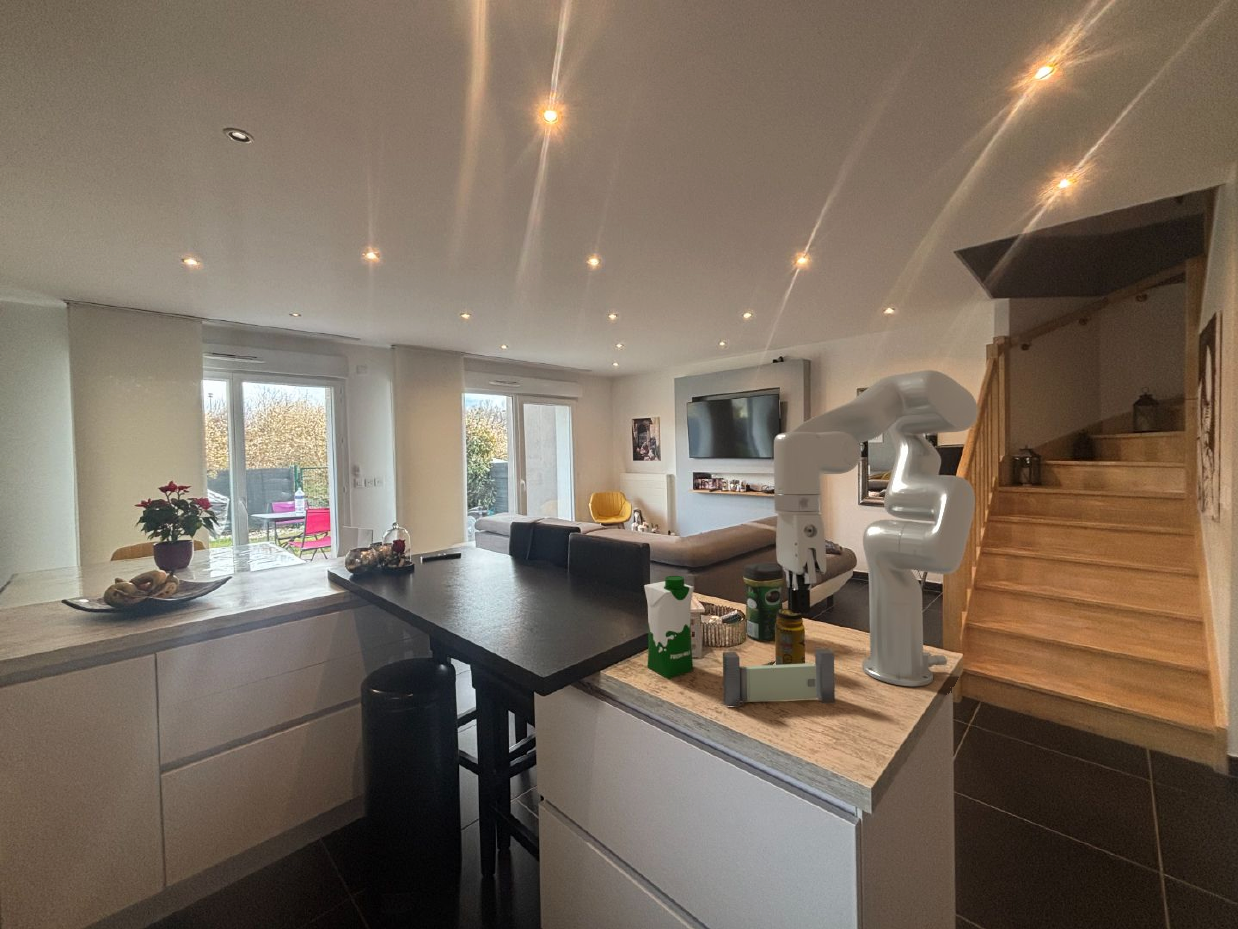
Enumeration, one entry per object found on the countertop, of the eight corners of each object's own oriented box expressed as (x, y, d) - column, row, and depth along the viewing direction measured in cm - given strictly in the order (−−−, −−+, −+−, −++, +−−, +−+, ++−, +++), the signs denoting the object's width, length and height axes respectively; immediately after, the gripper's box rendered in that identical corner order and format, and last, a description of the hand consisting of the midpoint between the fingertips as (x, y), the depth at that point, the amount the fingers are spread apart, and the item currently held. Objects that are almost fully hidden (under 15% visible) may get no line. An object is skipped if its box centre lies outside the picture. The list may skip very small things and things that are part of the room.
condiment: (814, 669, 103) (813, 612, 103) (788, 679, 98) (787, 620, 98) (785, 657, 109) (784, 604, 109) (760, 667, 104) (759, 611, 104)
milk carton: (666, 682, 98) (665, 583, 98) (641, 666, 105) (639, 575, 105) (699, 671, 102) (697, 577, 102) (672, 657, 110) (670, 569, 110)
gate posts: (828, 695, 91) (827, 648, 91) (834, 702, 88) (833, 653, 88) (723, 700, 89) (722, 652, 89) (727, 707, 87) (726, 657, 87)
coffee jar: (769, 628, 128) (768, 558, 128) (790, 638, 121) (789, 563, 120) (739, 633, 124) (737, 561, 124) (759, 644, 117) (757, 567, 117)
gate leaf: (738, 698, 89) (737, 666, 89) (812, 694, 90) (812, 662, 90) (741, 703, 88) (740, 670, 88) (817, 699, 88) (816, 666, 88)
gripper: (841, 507, 75) (843, 625, 75) (800, 500, 90) (801, 599, 90) (794, 508, 75) (796, 627, 75) (760, 501, 90) (761, 600, 90)
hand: (798, 611), depth 82 cm, fingers closed
